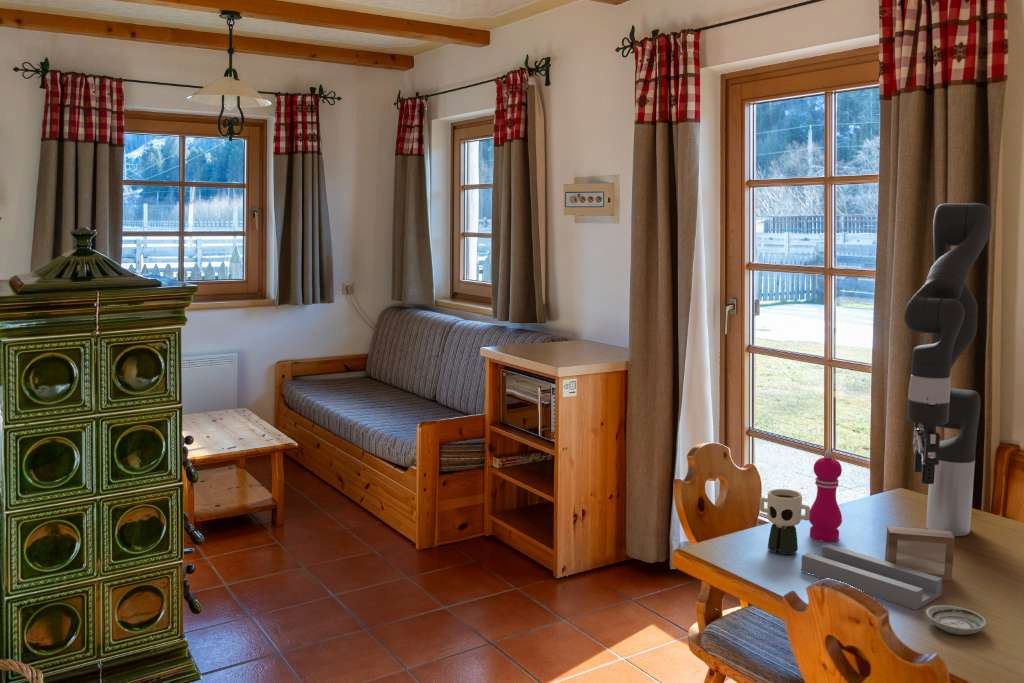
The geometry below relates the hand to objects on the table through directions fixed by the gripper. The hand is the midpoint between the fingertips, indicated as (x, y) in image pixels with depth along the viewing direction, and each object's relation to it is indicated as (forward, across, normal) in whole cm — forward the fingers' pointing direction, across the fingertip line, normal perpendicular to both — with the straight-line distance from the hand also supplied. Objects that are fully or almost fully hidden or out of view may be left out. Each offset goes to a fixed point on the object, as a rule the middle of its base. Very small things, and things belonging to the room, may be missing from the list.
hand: (923, 477), depth 182 cm
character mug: (+20, -6, -26) cm, 34 cm away
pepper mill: (+20, -18, -17) cm, 32 cm away
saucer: (+21, +24, +2) cm, 32 cm away
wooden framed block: (+20, 0, 0) cm, 20 cm away
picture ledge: (+20, +7, -10) cm, 24 cm away
